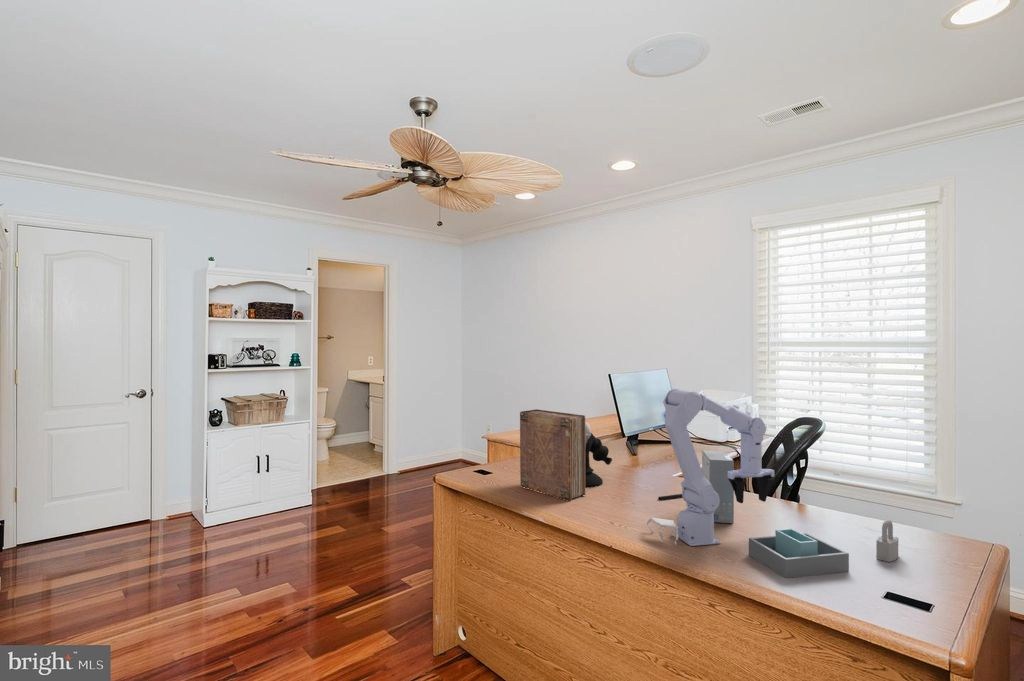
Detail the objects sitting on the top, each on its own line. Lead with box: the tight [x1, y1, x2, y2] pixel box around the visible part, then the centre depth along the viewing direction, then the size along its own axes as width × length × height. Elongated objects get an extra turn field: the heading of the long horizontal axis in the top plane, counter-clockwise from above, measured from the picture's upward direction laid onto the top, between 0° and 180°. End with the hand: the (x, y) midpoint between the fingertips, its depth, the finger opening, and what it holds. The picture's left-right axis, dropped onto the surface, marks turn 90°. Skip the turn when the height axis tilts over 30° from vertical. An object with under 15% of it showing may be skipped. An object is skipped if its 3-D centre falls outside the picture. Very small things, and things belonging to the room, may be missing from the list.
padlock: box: [875, 519, 899, 563], centre depth 138 cm, size 7×4×10 cm, turn 127°
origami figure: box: [646, 517, 679, 546], centre depth 152 cm, size 12×8×5 cm
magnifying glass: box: [657, 493, 683, 501], centre depth 193 cm, size 13×31×2 cm, turn 110°
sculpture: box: [585, 421, 613, 488], centre depth 214 cm, size 15×24×25 cm, turn 130°
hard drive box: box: [701, 450, 735, 524], centre depth 171 cm, size 16×8×20 cm, turn 168°
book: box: [519, 409, 586, 502], centre depth 198 cm, size 25×9×30 cm, turn 44°
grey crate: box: [748, 532, 850, 579], centre depth 135 cm, size 18×14×4 cm
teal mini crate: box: [774, 528, 818, 558], centre depth 135 cm, size 5×9×6 cm, turn 12°
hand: (751, 501), depth 156 cm, fingers open, 7 cm apart
